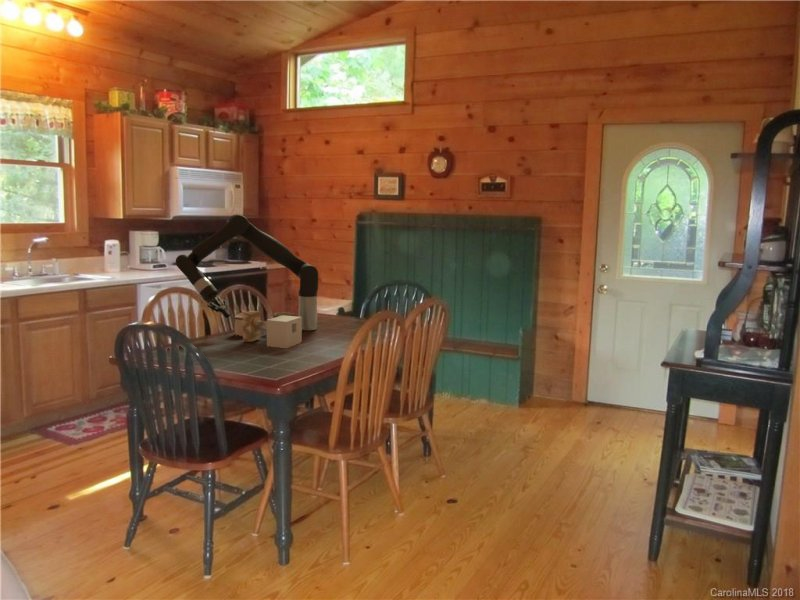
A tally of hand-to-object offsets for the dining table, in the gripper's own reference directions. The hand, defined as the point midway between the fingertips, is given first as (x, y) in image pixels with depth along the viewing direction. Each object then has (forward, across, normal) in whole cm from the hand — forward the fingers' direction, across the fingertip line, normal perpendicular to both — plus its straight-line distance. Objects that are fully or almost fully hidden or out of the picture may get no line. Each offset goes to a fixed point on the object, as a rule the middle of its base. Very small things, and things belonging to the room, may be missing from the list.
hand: (228, 316), depth 307 cm
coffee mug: (+19, +21, -4) cm, 28 cm away
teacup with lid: (+8, +12, +7) cm, 16 cm away
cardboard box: (+28, 0, -14) cm, 32 cm away
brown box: (+20, 0, -6) cm, 21 cm away
